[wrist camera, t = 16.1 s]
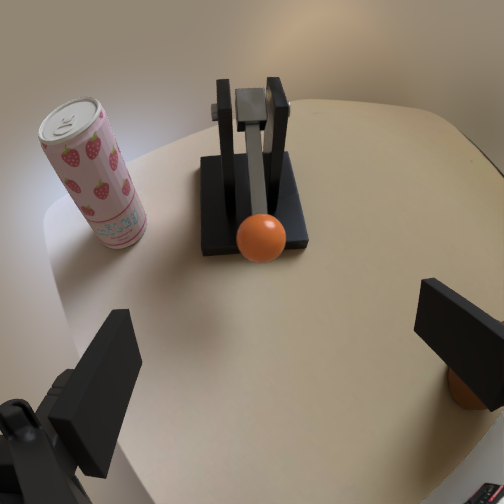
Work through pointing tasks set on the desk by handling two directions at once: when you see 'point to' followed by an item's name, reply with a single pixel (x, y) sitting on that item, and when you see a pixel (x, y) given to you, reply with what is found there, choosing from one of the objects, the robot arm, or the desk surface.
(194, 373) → the desk surface
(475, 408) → the mug
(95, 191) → the beverage can
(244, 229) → the switch lever
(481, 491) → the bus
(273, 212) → the switch bracket
